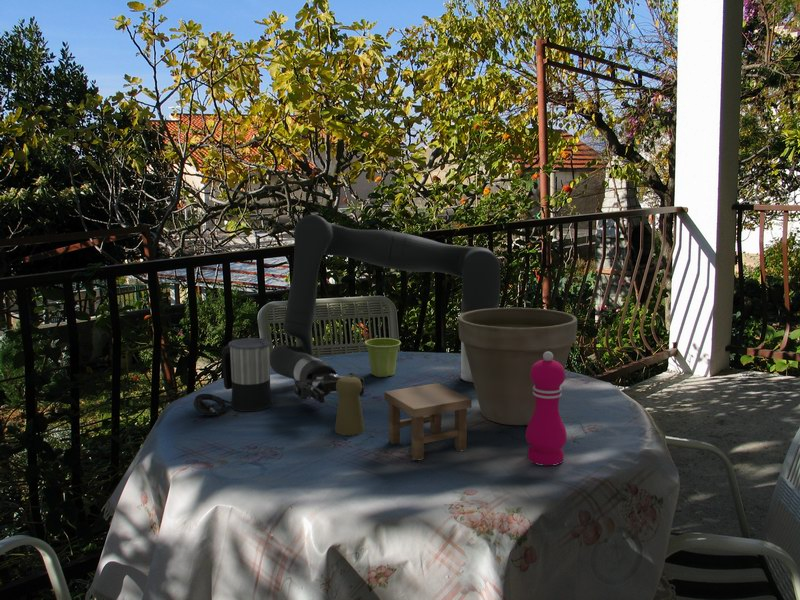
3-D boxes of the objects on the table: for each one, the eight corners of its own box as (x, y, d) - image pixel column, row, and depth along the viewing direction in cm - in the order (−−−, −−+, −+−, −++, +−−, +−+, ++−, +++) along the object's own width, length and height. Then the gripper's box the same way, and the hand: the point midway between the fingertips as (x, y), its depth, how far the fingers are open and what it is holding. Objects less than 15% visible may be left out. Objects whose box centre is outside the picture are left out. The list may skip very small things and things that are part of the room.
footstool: (438, 430, 140) (438, 382, 138) (471, 450, 130) (471, 399, 128) (384, 441, 135) (384, 391, 133) (414, 462, 124) (414, 409, 122)
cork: (369, 426, 143) (368, 375, 141) (357, 437, 137) (356, 383, 135) (342, 423, 145) (341, 372, 143) (330, 433, 139) (328, 380, 137)
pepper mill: (520, 452, 128) (522, 347, 125) (558, 451, 129) (561, 346, 126) (531, 468, 121) (533, 357, 118) (571, 466, 122) (575, 355, 119)
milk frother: (281, 402, 159) (278, 339, 157) (240, 424, 145) (236, 355, 143) (229, 395, 165) (226, 334, 162) (185, 416, 151) (181, 349, 148)
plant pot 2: (456, 396, 163) (456, 305, 159) (562, 397, 161) (565, 305, 158) (459, 434, 138) (459, 327, 134) (585, 436, 137) (589, 328, 133)
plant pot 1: (402, 369, 186) (402, 338, 185) (399, 379, 177) (399, 346, 175) (368, 369, 187) (367, 337, 186) (362, 378, 178) (362, 345, 176)
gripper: (283, 363, 153) (308, 382, 139) (343, 356, 160) (373, 372, 145) (285, 396, 154) (310, 417, 140) (344, 387, 161) (373, 407, 147)
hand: (342, 394), depth 143 cm, fingers open, 8 cm apart
